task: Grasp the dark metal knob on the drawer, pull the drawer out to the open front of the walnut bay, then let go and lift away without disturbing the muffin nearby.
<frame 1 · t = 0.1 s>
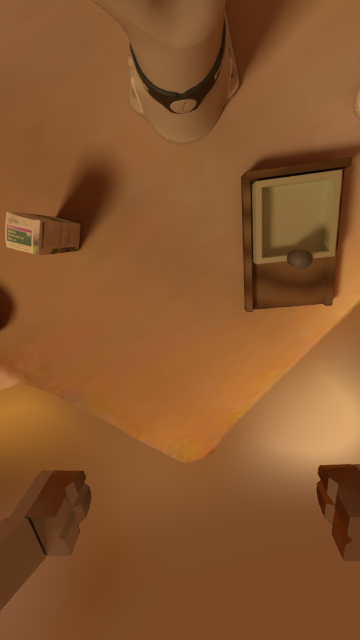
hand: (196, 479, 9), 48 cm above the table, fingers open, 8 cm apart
drawer: (296, 223, 45), point 5 cm above the table, slide at 0.0 cm
syrup box: (67, 233, 53), on the table
bay: (286, 243, 51), on the table
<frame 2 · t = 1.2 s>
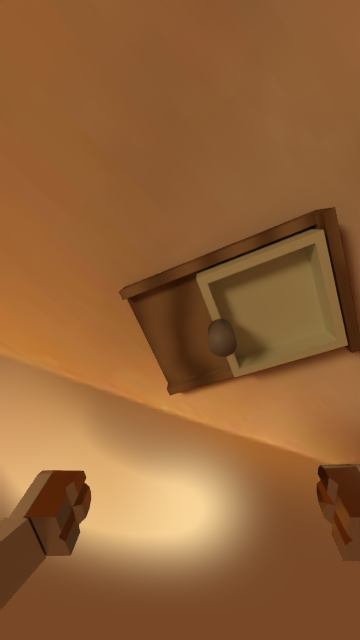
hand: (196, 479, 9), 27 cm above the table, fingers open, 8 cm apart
drawer: (269, 314, 29), point 5 cm above the table, slide at 0.0 cm
bay: (233, 310, 35), on the table
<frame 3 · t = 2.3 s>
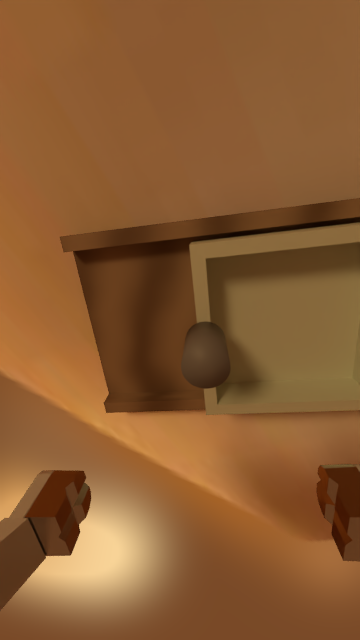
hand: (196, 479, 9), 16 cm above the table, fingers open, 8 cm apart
drawer: (288, 334, 18), point 5 cm above the table, slide at 0.0 cm
bay: (228, 315, 23), on the table
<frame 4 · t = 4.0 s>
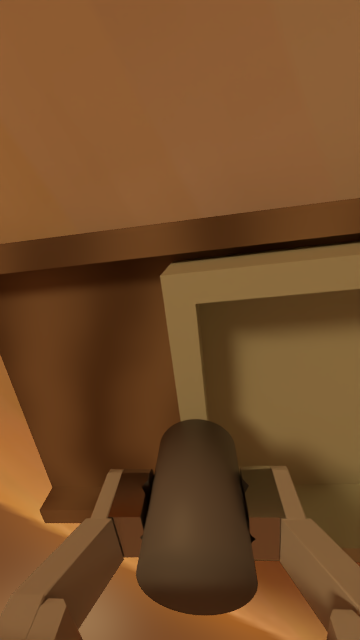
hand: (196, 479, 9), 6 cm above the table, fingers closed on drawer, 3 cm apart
drawer: (358, 444, 9), point 5 cm above the table, slide at 0.0 cm, touching gripper
bay: (235, 376, 15), on the table
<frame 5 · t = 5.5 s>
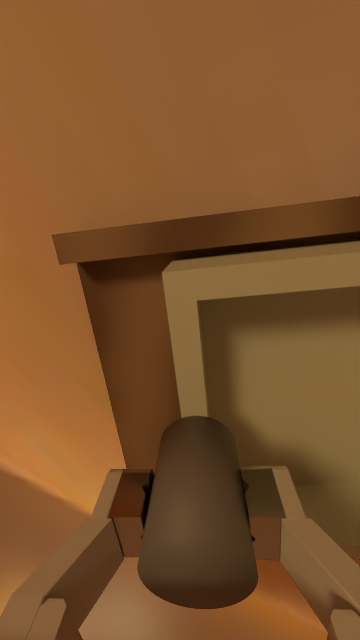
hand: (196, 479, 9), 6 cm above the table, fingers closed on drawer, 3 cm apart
drawer: (357, 441, 9), point 5 cm above the table, slide at 5.6 cm, touching gripper
bay: (337, 368, 14), on the table
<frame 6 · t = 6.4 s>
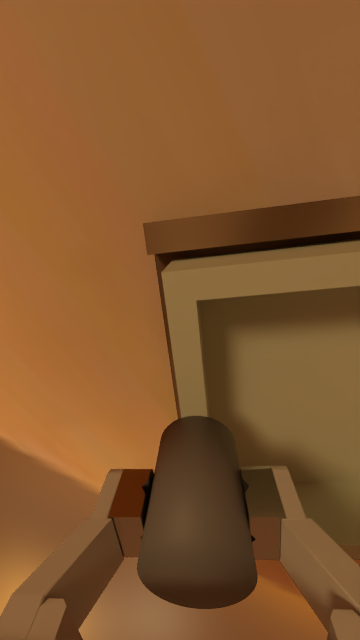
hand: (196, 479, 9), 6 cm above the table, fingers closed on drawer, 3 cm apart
drawer: (357, 441, 9), point 5 cm above the table, slide at 9.4 cm, touching gripper
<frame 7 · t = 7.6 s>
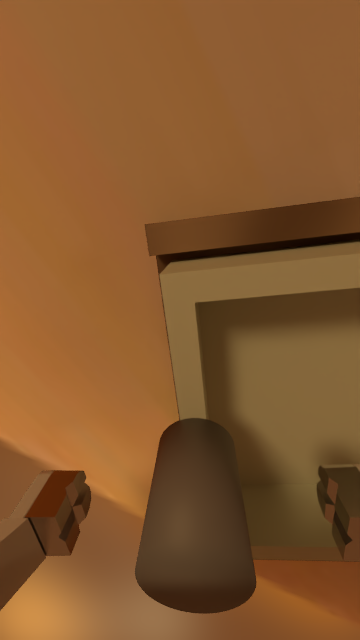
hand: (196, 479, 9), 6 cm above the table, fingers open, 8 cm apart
drawer: (357, 443, 9), point 5 cm above the table, slide at 9.5 cm
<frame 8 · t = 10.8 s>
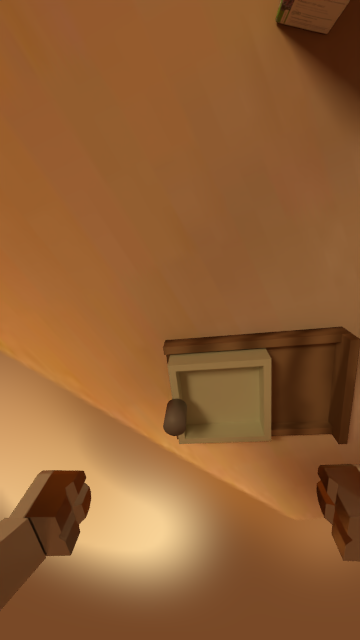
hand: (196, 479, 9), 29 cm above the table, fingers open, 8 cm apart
drawer: (218, 405, 36), point 5 cm above the table, slide at 9.5 cm
bay: (251, 382, 41), on the table
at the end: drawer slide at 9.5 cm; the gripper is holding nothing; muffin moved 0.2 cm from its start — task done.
